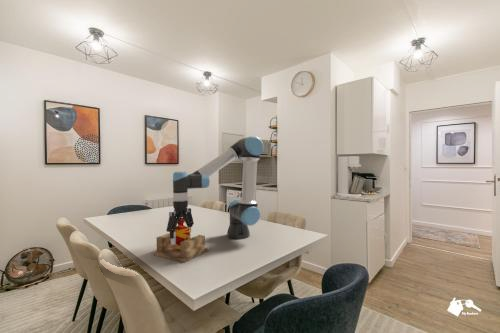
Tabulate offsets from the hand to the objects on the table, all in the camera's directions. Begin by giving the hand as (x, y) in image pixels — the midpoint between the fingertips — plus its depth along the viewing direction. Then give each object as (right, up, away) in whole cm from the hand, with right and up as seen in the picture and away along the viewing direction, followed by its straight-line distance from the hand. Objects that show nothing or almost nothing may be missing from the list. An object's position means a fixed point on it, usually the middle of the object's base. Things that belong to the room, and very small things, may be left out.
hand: (181, 241), depth 128 cm
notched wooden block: (0, -6, 0) cm, 6 cm away
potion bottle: (0, -3, 0) cm, 3 cm away
